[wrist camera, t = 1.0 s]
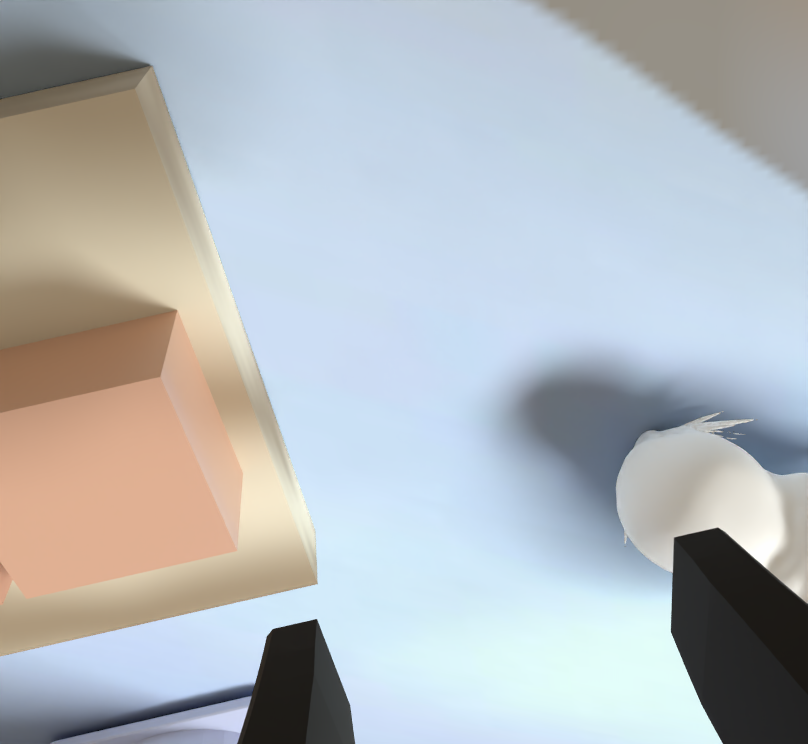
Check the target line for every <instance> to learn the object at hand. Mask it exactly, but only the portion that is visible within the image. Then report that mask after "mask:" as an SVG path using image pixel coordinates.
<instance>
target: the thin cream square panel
mask: <svg viewBox="0 0 808 744" xmlns="http://www.w3.org/2000/svg"><path fill="white" fill-rule="evenodd" d="M175 310H178V312H179V315H180V317H181V320H182V322H183V325H184V327H185V330H186V332H187V335H188V337H189V340H190V342H191V345H192V347H193V350H194V352H195V355H196V357H197V360H198V362H199V365H200V367H201V370H202V372H203V375H204V377H205V380H206V382H207V385H208V387H209V389H210V392H211V394H212V397H213V399H214V402H215V404H216V407H217V409H218V412H219V414H220V417H221V419H222V422H223V424H224V427H225V429H226V432H227V434H228V437H229V439H230V442H231V444H232V447H233V449H234V452H235V454H236V457H237V459H238V462H239V464H240V467H241V469H242V472H243V482H242V496H241V509H240V522H239V536H238V549H237V551H235V552H231V553H226V554H222V555H218V556H213V557H209V558H204V559H200V560H196V561H191V562H187V563H182V564H178V565H174V566H169V567H165V568H160V569H156V570H152V571H147V572H143V573H138V574H134V575H130V576H125V577H121V578H117V579H112V580H108V581H103V582H99V583H95V584H90V585H86V586H81V587H77V588H73V589H68V590H64V591H59V592H55V593H51V594H46V595H42V596H37V597H33V598H29V599H26V598H25V596H24V595H23V593H22V592H21V591H20V589H19V588H18V586H17V585H16V583H15V582H14V581H13V580H12V583H11V585H10V588H9V590H8V593H7V595H6V598H5V601H4V603H3V604H2V605H0V656H4V655H8V654H13V653H17V652H22V651H26V650H30V649H35V648H39V647H43V646H48V645H52V644H57V643H61V642H65V641H70V640H74V639H78V638H83V637H87V636H92V635H96V634H100V633H105V632H109V631H114V630H118V629H122V628H127V627H131V626H135V625H140V624H144V623H149V622H153V621H157V620H162V619H166V618H170V617H175V616H179V615H184V614H188V613H192V612H197V611H201V610H205V609H210V608H214V607H219V606H223V605H227V604H232V603H236V602H241V601H245V600H249V599H254V598H258V597H262V596H267V595H271V594H276V593H280V592H284V591H289V590H293V589H297V588H302V587H306V586H311V585H315V584H318V583H317V561H316V538H315V529H314V526H313V523H312V520H311V517H310V514H309V512H308V509H307V506H306V503H305V500H304V497H303V494H302V492H301V489H300V486H299V483H298V480H297V477H296V474H295V472H294V469H293V466H292V463H291V460H290V457H289V454H288V452H287V449H286V446H285V443H284V440H283V437H282V434H281V432H280V429H279V426H278V423H277V420H276V417H275V415H274V412H273V409H272V406H271V403H270V400H269V397H268V395H267V392H266V389H265V386H264V383H263V380H262V377H261V375H260V372H259V369H258V366H257V363H256V360H255V357H254V355H253V352H252V349H251V346H250V343H249V340H248V337H247V335H246V332H245V329H244V326H243V323H242V320H241V317H240V315H239V312H238V309H237V306H236V303H235V300H234V298H233V295H232V292H231V289H230V286H229V283H228V280H227V278H226V275H225V272H224V269H223V266H222V263H221V260H220V258H219V255H218V252H217V249H216V246H215V243H214V240H213V238H212V235H211V232H210V229H209V226H208V223H207V220H206V218H205V215H204V212H203V209H202V206H201V203H200V200H199V198H198V195H197V192H196V189H195V186H194V183H193V181H192V178H191V175H190V172H189V169H188V166H187V163H186V161H185V158H184V155H183V152H182V149H181V146H180V143H179V141H178V138H177V135H176V132H175V129H174V126H173V123H172V121H171V118H170V115H169V112H168V109H167V106H166V103H165V101H164V98H163V95H162V92H161V89H160V86H159V83H158V81H157V78H156V75H155V72H154V69H153V66H148V67H144V68H139V69H134V70H130V71H125V72H121V73H116V74H112V75H107V76H103V77H98V78H94V79H89V80H85V81H80V82H76V83H71V84H67V85H62V86H58V87H53V88H49V89H44V90H40V91H35V92H31V93H26V94H21V95H17V96H12V97H8V98H3V99H0V350H2V349H6V348H11V347H15V346H19V345H24V344H28V343H33V342H37V341H42V340H46V339H51V338H55V337H60V336H64V335H68V334H73V333H77V332H82V331H86V330H91V329H95V328H100V327H104V326H109V325H113V324H117V323H122V322H126V321H131V320H135V319H140V318H144V317H149V316H153V315H158V314H162V313H166V312H171V311H175Z"/></svg>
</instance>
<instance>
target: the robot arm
mask: <svg viewBox="0 0 808 744" xmlns="http://www.w3.org/2000/svg"><path fill="white" fill-rule="evenodd" d="M671 633H672V636H673V638H674V640H675V643H676V645H677V648H678V650H679V653H680V655H681V657H682V660H683V662H684V665H685V667H686V669H687V672H688V674H689V676H690V679H691V681H692V683H693V686H694V688H695V690H696V693H697V695H698V697H699V700H700V702H701V704H702V706H703V708H704V710H705V712H706V713H707V715H708V717H709V719H710V721H711V723H712V725H713V726H714V728H715V730H716V732H717V734H718V735H719V737H720V739H721V741H722V743H723V744H808V604H807V603H806V602H805V601H804V600H803V599H801V598H800V597H799V596H798V595H797V594H796V593H794V592H793V591H792V590H791V589H790V588H788V587H787V586H786V585H785V584H784V583H783V582H781V581H780V580H779V579H778V578H777V577H776V576H774V575H773V574H772V573H771V572H770V571H769V570H768V569H766V568H765V567H764V566H763V565H762V564H761V563H760V562H758V561H757V560H756V559H755V558H754V557H753V556H752V555H750V554H749V553H748V552H747V551H746V550H745V549H744V548H743V547H741V546H740V545H739V544H738V543H737V542H736V541H735V540H734V539H732V538H731V537H730V536H729V535H728V534H727V533H726V532H724V531H723V530H721V529H720V528H718V527H717V528H713V529H709V530H704V531H700V532H695V533H691V534H687V535H682V536H678V537H674V549H673V582H672V615H671ZM50 744H355V740H354V732H353V724H352V717H351V709H350V704H349V701H348V699H347V696H346V694H345V691H344V688H343V686H342V683H341V681H340V678H339V675H338V673H337V670H336V668H335V665H334V662H333V660H332V657H331V655H330V652H329V649H328V647H327V644H326V642H325V639H324V636H323V634H322V631H321V629H320V626H319V623H318V621H317V619H315V620H311V621H306V622H302V623H298V624H293V625H289V626H285V627H280V628H276V629H273V630H272V631H271V632H270V633H269V635H268V636H267V639H266V643H265V647H264V652H263V656H262V660H261V664H260V668H259V671H258V675H257V679H256V683H255V686H254V690H253V693H252V696H249V697H244V698H240V699H236V700H231V701H227V702H223V703H218V704H214V705H209V706H205V707H201V708H196V709H192V710H188V711H183V712H179V713H175V714H170V715H166V716H162V717H157V718H153V719H149V720H144V721H140V722H135V723H131V724H127V725H122V726H118V727H114V728H109V729H105V730H101V731H96V732H92V733H88V734H83V735H79V736H74V737H70V738H66V739H61V740H57V741H54V742H52V743H50Z"/></svg>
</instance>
